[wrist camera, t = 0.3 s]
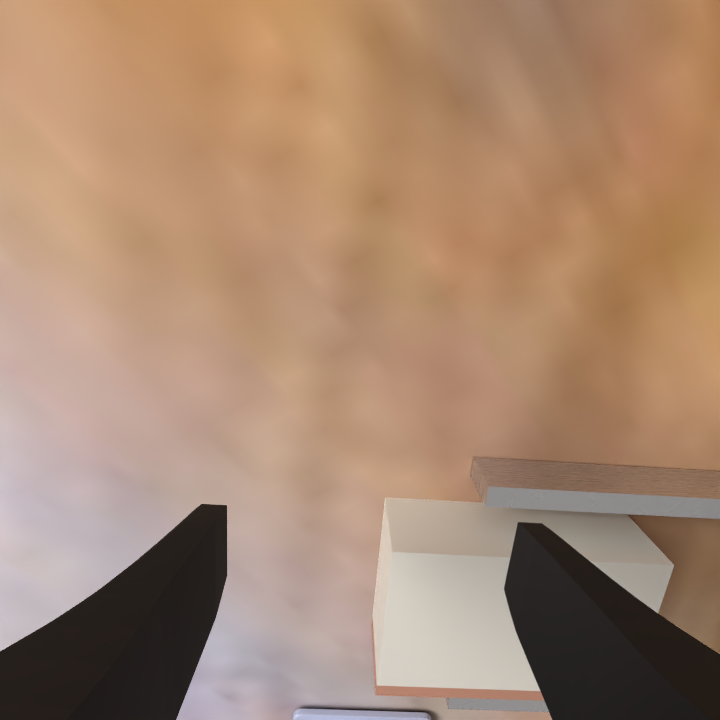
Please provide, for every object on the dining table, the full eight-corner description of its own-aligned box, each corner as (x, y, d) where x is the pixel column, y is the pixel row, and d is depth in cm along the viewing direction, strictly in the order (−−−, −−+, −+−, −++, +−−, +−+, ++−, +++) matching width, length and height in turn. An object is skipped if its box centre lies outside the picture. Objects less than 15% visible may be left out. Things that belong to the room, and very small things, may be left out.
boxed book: (585, 630, 26) (627, 703, 22) (371, 622, 25) (375, 695, 21) (620, 507, 23) (674, 565, 19) (385, 495, 23) (392, 551, 19)
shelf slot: (780, 675, 27) (953, 860, 19) (438, 663, 26) (476, 851, 18) (871, 479, 23) (1134, 612, 15) (473, 457, 22) (539, 585, 14)
